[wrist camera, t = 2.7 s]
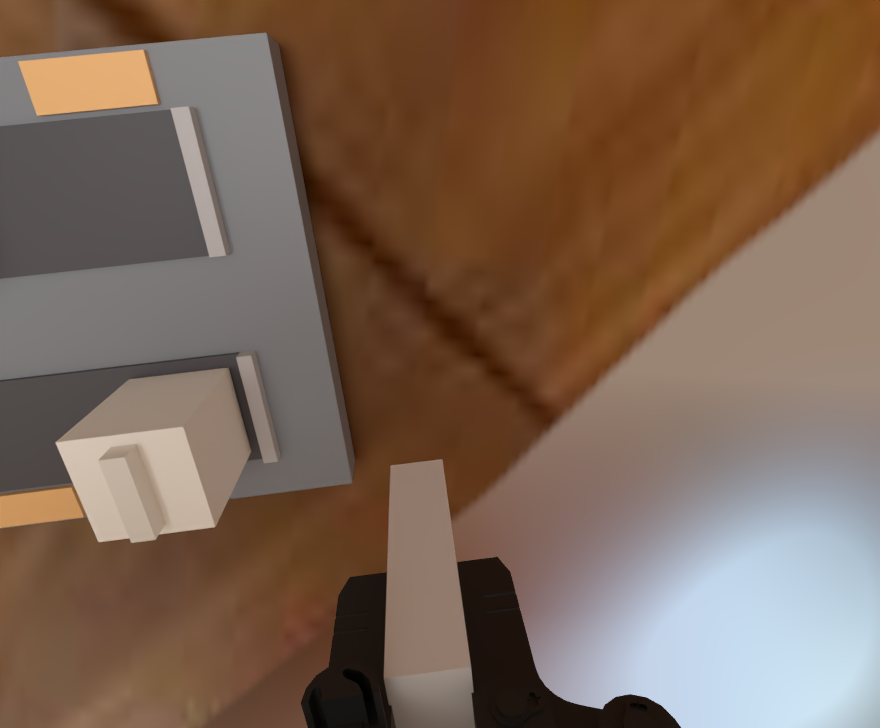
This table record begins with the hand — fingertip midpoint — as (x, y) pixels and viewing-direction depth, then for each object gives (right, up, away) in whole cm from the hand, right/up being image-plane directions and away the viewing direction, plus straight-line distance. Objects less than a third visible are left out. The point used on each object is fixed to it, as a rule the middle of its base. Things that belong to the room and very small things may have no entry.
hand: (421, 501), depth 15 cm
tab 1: (-10, +2, +7) cm, 12 cm away
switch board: (-15, +6, +7) cm, 17 cm away
